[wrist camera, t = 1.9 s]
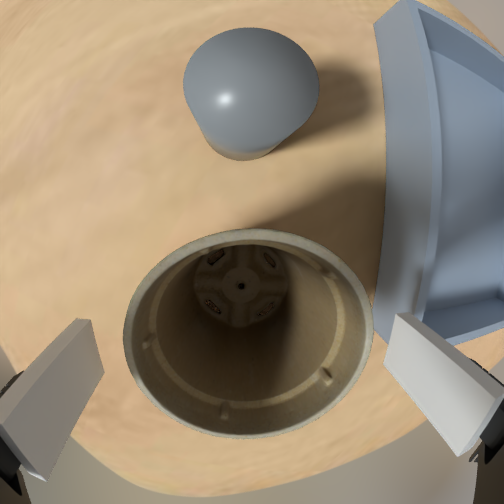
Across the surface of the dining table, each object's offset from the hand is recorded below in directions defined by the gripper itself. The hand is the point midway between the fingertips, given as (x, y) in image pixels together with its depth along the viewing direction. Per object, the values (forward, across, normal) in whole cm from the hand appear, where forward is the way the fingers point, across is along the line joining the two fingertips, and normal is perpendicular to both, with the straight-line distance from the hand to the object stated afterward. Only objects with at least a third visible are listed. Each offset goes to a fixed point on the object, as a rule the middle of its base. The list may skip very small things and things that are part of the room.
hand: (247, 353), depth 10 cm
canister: (+7, 0, +10) cm, 13 cm away
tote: (+7, +19, +8) cm, 22 cm away
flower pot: (+8, 0, 0) cm, 8 cm away
